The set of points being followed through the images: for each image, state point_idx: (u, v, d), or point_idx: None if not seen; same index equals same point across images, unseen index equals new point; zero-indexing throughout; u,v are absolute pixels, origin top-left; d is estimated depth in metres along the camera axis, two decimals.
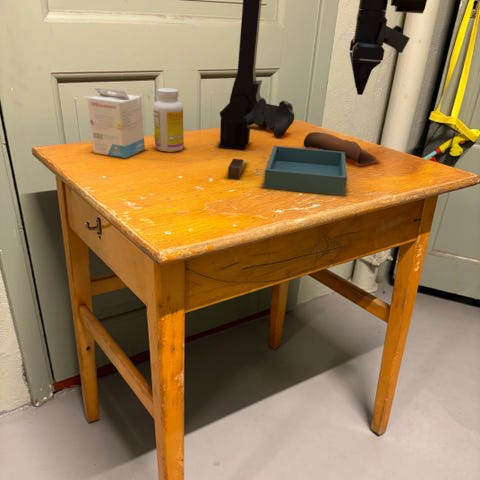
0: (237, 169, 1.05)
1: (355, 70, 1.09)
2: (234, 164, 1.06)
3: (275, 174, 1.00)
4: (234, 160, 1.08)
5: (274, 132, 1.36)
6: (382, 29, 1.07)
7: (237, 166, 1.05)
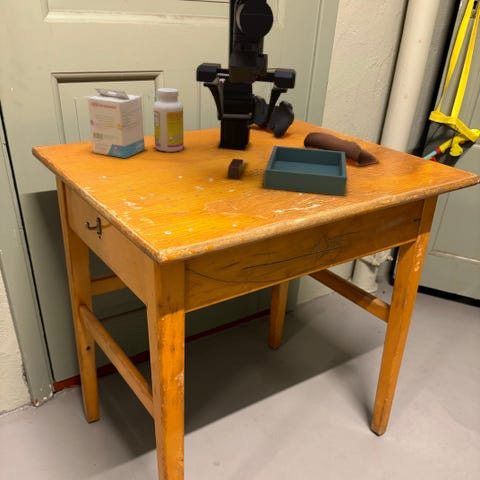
0: (237, 169, 1.05)
1: None
2: (234, 164, 1.06)
3: (275, 174, 1.00)
4: (234, 160, 1.08)
5: (274, 132, 1.36)
6: None
7: (237, 166, 1.05)
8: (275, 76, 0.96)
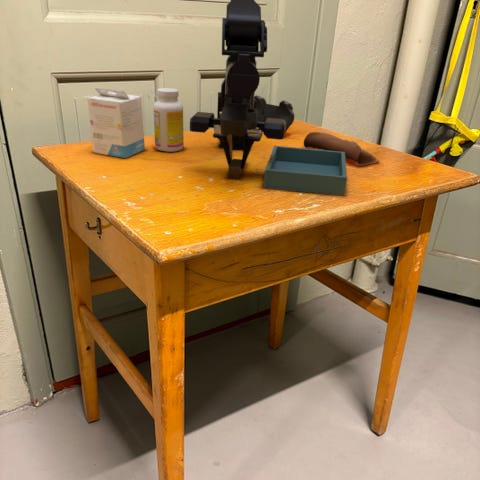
0: (237, 169, 1.05)
1: None
2: (234, 164, 1.06)
3: (275, 174, 1.00)
4: (234, 160, 1.08)
5: None
6: None
7: (237, 166, 1.05)
8: (265, 128, 1.00)
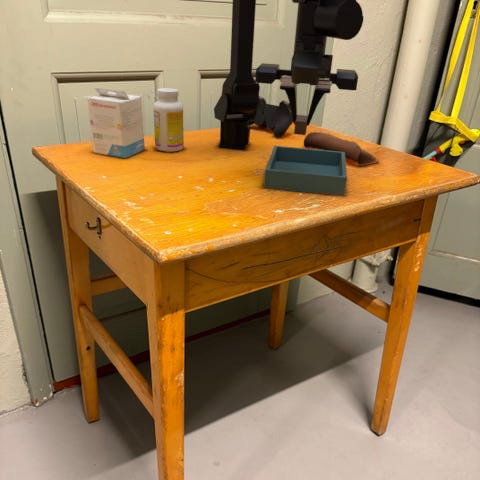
0: (305, 124, 0.98)
1: None
2: (300, 119, 1.00)
3: (275, 174, 1.00)
4: (299, 116, 1.02)
5: (274, 132, 1.36)
6: None
7: (304, 121, 0.98)
8: (337, 77, 0.94)
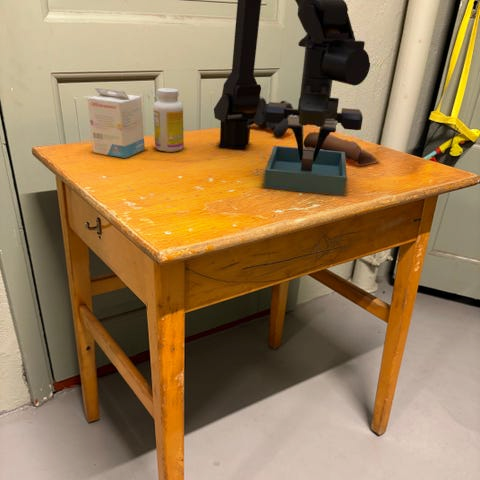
0: (311, 161, 1.02)
1: None
2: (307, 156, 1.03)
3: (275, 174, 1.00)
4: (305, 152, 1.05)
5: (274, 132, 1.36)
6: (300, 95, 0.97)
7: (311, 158, 1.02)
8: (343, 118, 0.97)
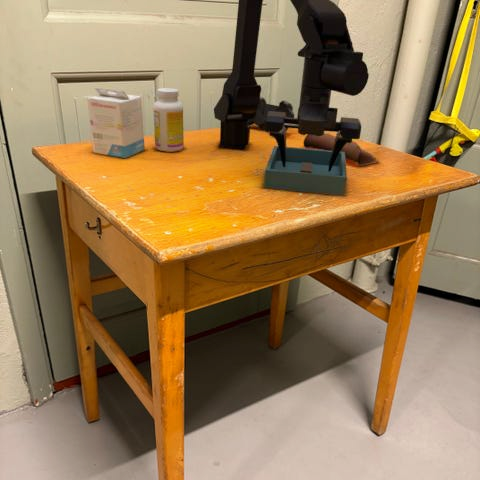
0: None
1: None
2: (305, 168, 1.04)
3: (275, 174, 1.00)
4: (304, 164, 1.07)
5: None
6: (299, 105, 0.98)
7: (309, 170, 1.03)
8: (342, 127, 0.98)
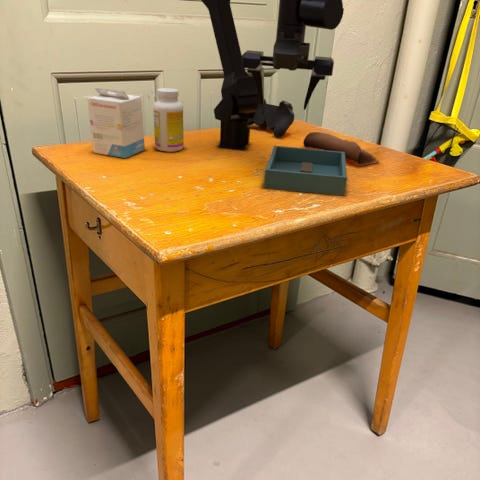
0: None
1: None
2: (305, 168, 1.04)
3: (275, 174, 1.00)
4: (304, 164, 1.07)
5: (274, 132, 1.36)
6: None
7: (309, 170, 1.03)
8: (315, 64, 1.04)
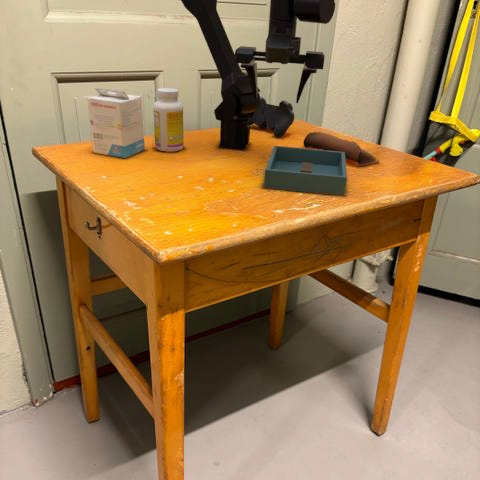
0: None
1: None
2: (305, 168, 1.04)
3: (275, 174, 1.00)
4: (304, 164, 1.07)
5: (274, 132, 1.36)
6: None
7: (309, 170, 1.03)
8: (306, 58, 1.07)
